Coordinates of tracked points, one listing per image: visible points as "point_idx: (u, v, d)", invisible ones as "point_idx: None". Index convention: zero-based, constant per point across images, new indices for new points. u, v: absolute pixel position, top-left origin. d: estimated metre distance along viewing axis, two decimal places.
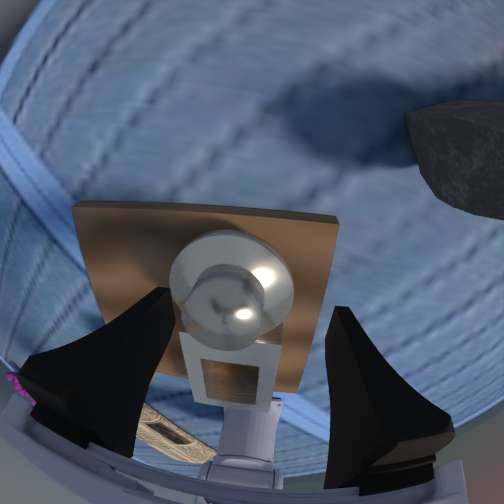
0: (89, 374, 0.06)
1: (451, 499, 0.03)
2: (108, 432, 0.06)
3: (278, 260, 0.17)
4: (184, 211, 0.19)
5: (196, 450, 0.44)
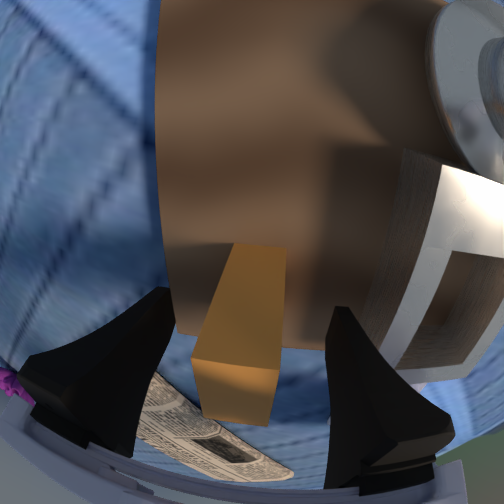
0: (89, 374, 0.06)
1: (451, 499, 0.03)
2: (108, 432, 0.06)
3: None
4: None
5: (258, 468, 0.30)
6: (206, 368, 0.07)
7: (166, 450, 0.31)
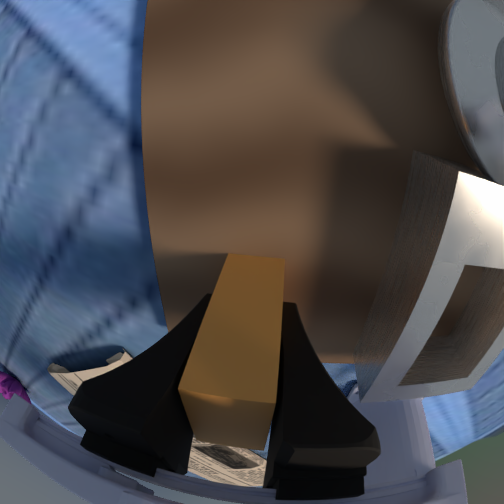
0: (163, 398, 0.06)
1: (451, 499, 0.03)
2: (173, 454, 0.06)
3: None
4: None
5: (260, 474, 0.29)
6: (195, 398, 0.06)
7: None
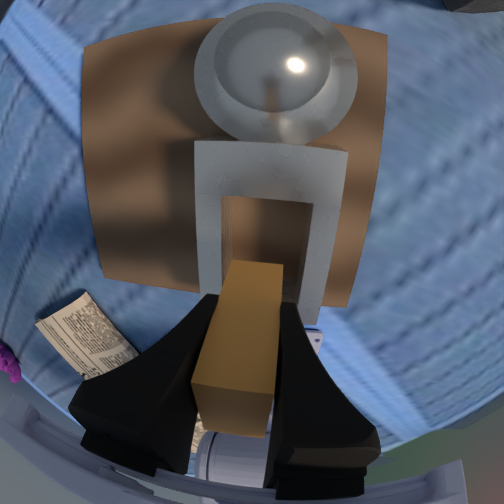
0: (164, 398, 0.06)
1: (451, 499, 0.03)
2: (173, 454, 0.06)
3: (334, 27, 0.10)
4: (219, 18, 0.13)
5: None
6: (205, 391, 0.08)
7: None
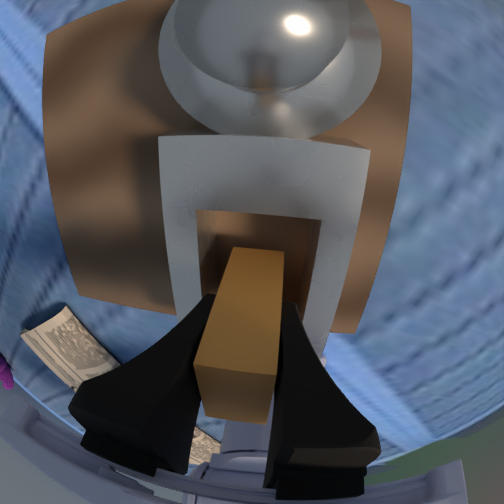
0: (163, 398, 0.06)
1: (451, 499, 0.03)
2: (173, 454, 0.06)
3: None
4: None
5: (202, 448, 0.33)
6: (208, 373, 0.08)
7: None
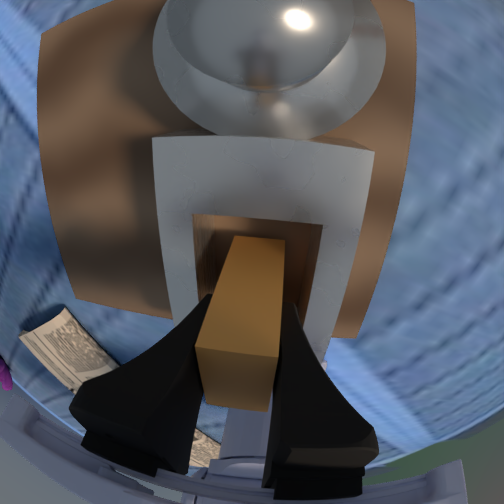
0: (164, 398, 0.06)
1: (451, 499, 0.03)
2: (174, 454, 0.06)
3: None
4: None
5: (203, 450, 0.32)
6: (209, 356, 0.08)
7: None
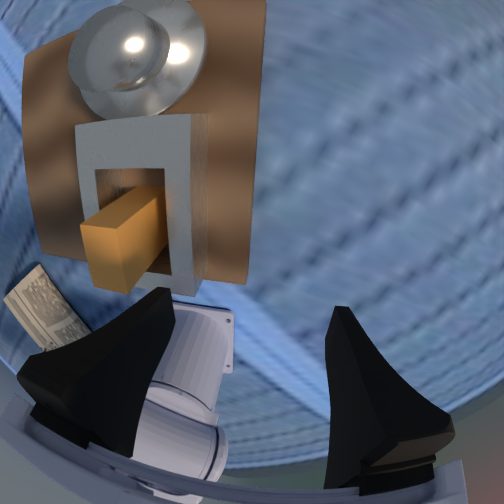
0: (89, 374, 0.06)
1: (451, 499, 0.03)
2: (108, 432, 0.06)
3: (185, 1, 0.10)
4: None
5: None
6: (86, 232, 0.12)
7: None
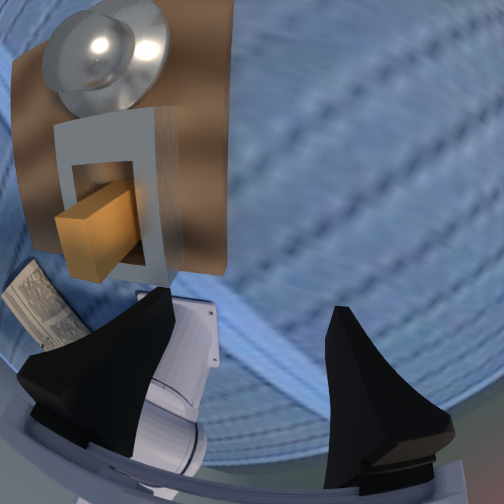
0: (89, 374, 0.06)
1: (451, 499, 0.03)
2: (108, 432, 0.06)
3: (148, 0, 0.09)
4: None
5: None
6: (60, 224, 0.12)
7: None
